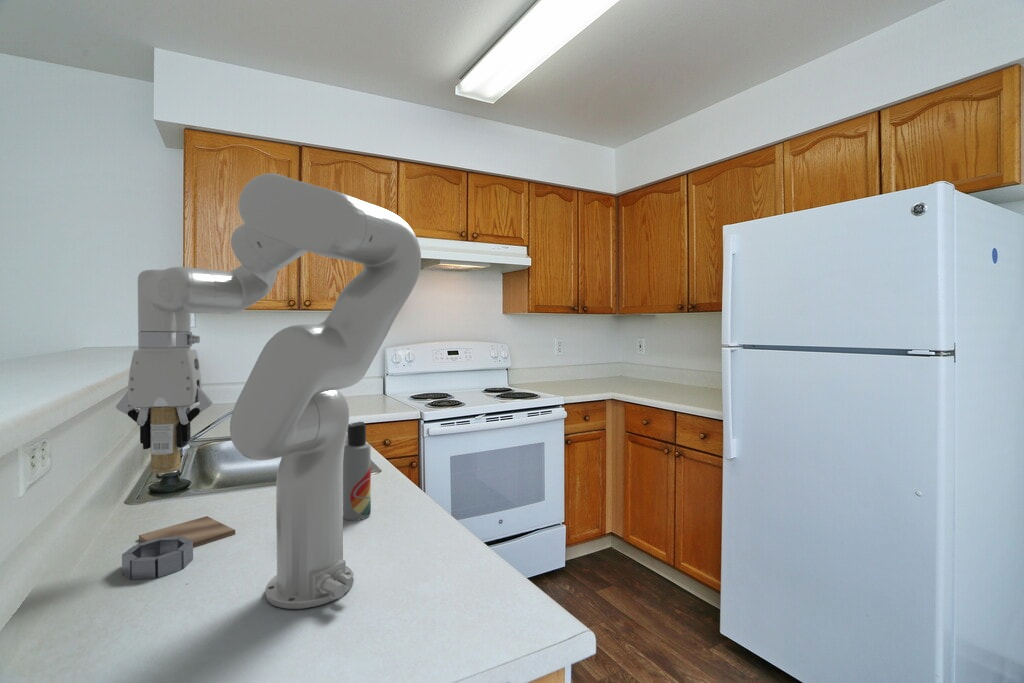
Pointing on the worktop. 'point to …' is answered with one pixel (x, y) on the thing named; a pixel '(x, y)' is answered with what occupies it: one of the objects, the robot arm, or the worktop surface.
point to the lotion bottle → (356, 473)
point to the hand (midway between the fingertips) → (165, 445)
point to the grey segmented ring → (157, 557)
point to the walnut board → (193, 531)
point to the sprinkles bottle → (164, 438)
